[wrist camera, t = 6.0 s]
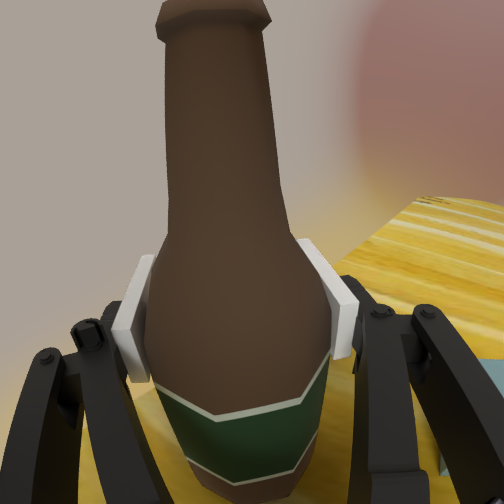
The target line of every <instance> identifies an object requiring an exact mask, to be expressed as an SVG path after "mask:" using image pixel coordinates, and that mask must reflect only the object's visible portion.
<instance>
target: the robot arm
mask: <svg viewBox="0 0 504 504" xmlns="http://www.w3.org/2000/svg"><path fill="white" fill-rule="evenodd" d="M296 241H297V242H298V244H299V245H300V247H301V248H302V250H303V251H304V252H305V254H306V255H307V257H308V258H309V260H310V261H311V263H312V264H313V265H314V267H315V268H316V270H317V271H318V273H319V275H320V277H321V280H322V283H323V286H324V289H325V292H326V295H327V298H328V301H329V304H330V307H331V310H332V328H331V349H330V354H331V356H332V358H333V360H337V359H342V358H346V357H350V356H351V350H352V346H353V348H354V350H355V351H356V358H355V362H354V367H353V372H352V374H355V400H354V428H353V445H352V459H351V471H350V482H349V491H348V500H347V504H430V491H429V479H428V474H427V473H426V471H424V470H421V469H420V467H419V458H418V445H417V435H416V426H415V417H414V409H413V402H412V395H411V388H410V383H411V386H412V388H413V390H414V392H415V394H416V396H417V398H418V401H419V403H420V405H421V407H422V409H423V412H424V414H425V416H426V418H427V421H428V423H429V425H430V428H431V430H432V432H433V435H434V437H435V439H436V442H437V444H438V447H439V449H440V451H441V454H442V456H443V459H444V461H445V464H446V467H447V469H448V472H449V474H450V477H451V480H452V482H453V485H454V488H455V491H456V494H457V496H458V499H459V501H460V504H504V398H503V396H502V394H501V393H500V391H499V390H498V388H497V387H496V385H495V384H494V382H493V381H492V379H491V378H490V376H489V375H488V373H487V372H486V370H485V369H484V367H483V366H482V365H481V363H480V362H479V360H478V359H477V358H476V356H475V355H474V353H473V352H472V351H471V349H470V348H469V346H468V345H467V344H466V342H465V341H464V340H463V338H462V337H461V336H460V334H459V333H458V332H457V330H456V329H455V328H454V327H453V325H452V324H451V323H450V321H449V320H448V319H447V318H446V316H445V315H444V314H443V313H442V311H441V310H440V309H438V308H437V307H435V306H433V305H429V304H420V305H417V306H416V307H415V308H414V310H413V314H412V315H399V314H396V313H395V311H394V310H393V309H392V308H391V307H389V306H387V305H384V304H377V303H376V301H375V300H374V299H373V298H372V297H371V295H370V294H369V293H368V292H367V291H365V288H364V287H363V286H361V284H360V283H359V282H358V280H357V279H355V278H353V277H351V276H349V275H344V276H338V274H337V273H336V272H335V271H334V269H333V268H332V267H331V266H330V265H329V263H328V262H327V261H326V259H325V258H324V257H323V256H322V255H321V254H320V252H319V251H318V250H317V249H316V247H315V246H314V245H313V244H312V242H311V241H310V240H309V239H308V238H305V239H296ZM155 260H156V254H150V255H143V256H142V257H141V259H140V261H139V263H138V265H137V268H136V270H135V272H134V275H133V277H132V279H131V281H130V284H129V286H128V289H127V291H126V293H125V296H124V298H123V300H122V301H112V302H111V303H110V304H109V305H108V306H107V307H106V308H105V310H104V312H103V316H102V317H101V319H100V320H98V319H92V318H90V319H85V320H83V321H80V322H78V323H77V324H75V325H74V326H73V328H72V329H71V332H70V333H71V336H72V338H73V340H74V342H75V345H76V347H77V349H78V352H76V353H73V354H68V355H64V356H62V355H61V353H60V351H59V350H58V349H56V348H51V347H50V348H46V349H43V350H41V351H40V352H39V353H37V354H36V356H35V357H34V359H33V361H32V364H31V366H30V369H29V372H28V374H27V377H26V380H25V383H24V386H23V389H22V392H21V395H20V398H19V401H18V404H17V407H16V410H15V414H14V417H13V421H12V424H11V428H10V431H9V435H8V439H7V443H6V447H5V452H4V456H3V461H2V466H1V471H0V504H78V478H79V460H80V447H81V436H82V427H83V418H84V410H85V414H86V420H87V425H88V431H89V436H90V441H91V446H92V450H93V455H94V459H95V463H96V467H97V471H98V475H99V479H100V483H101V486H102V490H103V493H104V496H105V500H106V503H107V504H174V502H173V500H172V498H171V496H170V493H169V491H168V489H167V487H166V485H165V483H164V480H163V478H162V476H161V474H160V471H159V469H158V467H157V464H156V462H155V460H154V457H153V455H152V452H151V450H150V447H149V445H148V442H147V440H146V437H145V434H144V432H143V429H142V426H141V423H140V421H139V418H138V415H137V412H136V409H135V406H134V403H133V400H132V397H131V394H130V390H129V388H128V385H127V383H126V378H127V374H128V375H129V378H130V380H131V382H132V383H142V382H143V383H144V382H149V380H150V374H151V372H150V368H149V364H148V360H147V356H146V352H145V347H144V334H145V323H146V313H147V303H148V294H149V286H150V278H151V270H152V267H153V265H154V263H155ZM409 381H410V382H409Z"/></svg>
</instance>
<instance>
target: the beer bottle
mask: <svg viewBox="0 0 504 504" xmlns="http://www.w3.org/2000/svg"><path fill="white" fill-rule="evenodd" d="M271 22H272V20H271V18H270V16H269V13H268V11H267V9H266V6H265V4H264V2H263V0H167V1H165V2H164V3H162V6H161V10H160V13H159V15H158V18H157V22H156V26H155V27H156V32H157V37H158V39H159V40H161V41H163V42H164V43H166V48H165V133H166V134H165V135H166V161H167V180H168V194H169V206H168V207H169V208H168V234H167V236H166V238H165V241H164V243H163V245H162V247H161V249H160V251H159V254H158V256H157V258H156V260H155V263H154V265H153V267H152V270H151V278H150V286H149V294H148V303H147V313H146V323H145V334H144V347H145V352H146V356H147V360H148V364H149V368H150V372H151V376H152V379H153V382H154V385H155V388H156V390H157V393H158V395H159V398H160V400H161V403H162V405H163V408H164V410H165V412H166V415H167V417H168V419H169V422H170V424H171V426H172V428H173V431H174V433H175V435H176V437H177V439H178V442H179V444H180V446H181V448H182V450H183V452H184V454H185V456H186V458H187V460H188V462H189V464H190V466H191V468H192V470H193V472H194V474H195V476H196V477H197V479H198V480H199V482H200V483H201V484H202V486H204V487H205V488H207V489H209V490H211V491H212V492H214V493H216V494H218V495H220V496H221V497H223V498H225V499H227V500H229V501H231V502H233V503H235V504H259V503H263V502H268V501H272V500H276V499H280V498H284V497H287V496H289V495H290V493H291V492H292V490H293V489H294V487H295V486H296V484H297V482H298V481H299V479H300V478H301V476H302V474H303V473H304V471H305V469H306V468H307V466H308V464H309V463H310V460H311V457H312V454H313V451H314V447H315V442H316V437H317V432H318V427H319V422H320V416H321V410H322V405H323V399H324V393H325V386H326V380H327V373H328V366H329V359H330V349H331V328H332V310H331V307H330V304H329V301H328V298H327V295H326V292H325V289H324V286H323V283H322V280H321V277H320V275H319V273H318V271H317V270H316V268H315V267H314V265H313V264H312V263H311V261H310V260H309V258H308V257H307V255H306V254H305V252H304V251H303V250H302V248H301V247H300V245H299V244H298V242H297V241H296V239H295V238H294V237H293V235H292V234H291V232H290V229H289V224H288V220H287V215H286V210H285V205H284V200H283V196H282V191H281V186H280V177H279V168H278V157H277V148H276V138H275V130H274V121H273V113H272V104H271V96H270V87H269V79H268V72H267V64H266V57H265V50H264V42H263V35H262V31H263V30H264V29H265V28H266V27H267V25H268V24H269V23H271Z"/></svg>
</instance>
